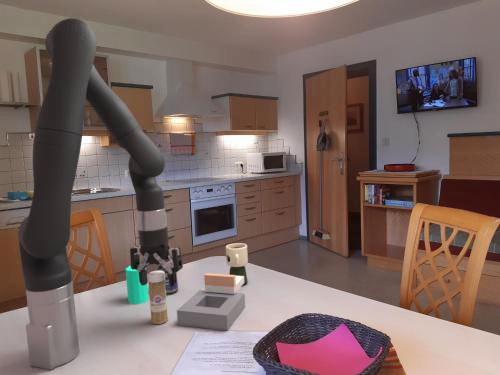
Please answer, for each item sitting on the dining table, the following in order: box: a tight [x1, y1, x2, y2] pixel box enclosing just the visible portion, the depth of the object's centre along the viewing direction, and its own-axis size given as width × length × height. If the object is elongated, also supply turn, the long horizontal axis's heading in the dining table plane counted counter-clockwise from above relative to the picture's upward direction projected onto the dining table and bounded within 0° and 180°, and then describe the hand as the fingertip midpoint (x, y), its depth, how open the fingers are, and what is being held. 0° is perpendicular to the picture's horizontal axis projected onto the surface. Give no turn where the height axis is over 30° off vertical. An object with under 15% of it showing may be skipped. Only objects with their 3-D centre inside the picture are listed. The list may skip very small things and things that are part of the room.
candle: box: [125, 265, 149, 305], centre depth 116 cm, size 6×6×12 cm
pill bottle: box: [157, 256, 179, 296], centre depth 122 cm, size 6×6×11 cm
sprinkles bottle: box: [147, 270, 169, 325], centre depth 101 cm, size 5×5×13 cm
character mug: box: [225, 242, 249, 284], centre depth 126 cm, size 11×7×13 cm, turn 2°
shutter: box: [203, 272, 245, 294], centre depth 113 cm, size 9×9×5 cm
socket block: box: [176, 289, 246, 331], centre depth 104 cm, size 14×14×4 cm
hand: (158, 285), depth 101 cm, fingers open, 8 cm apart
